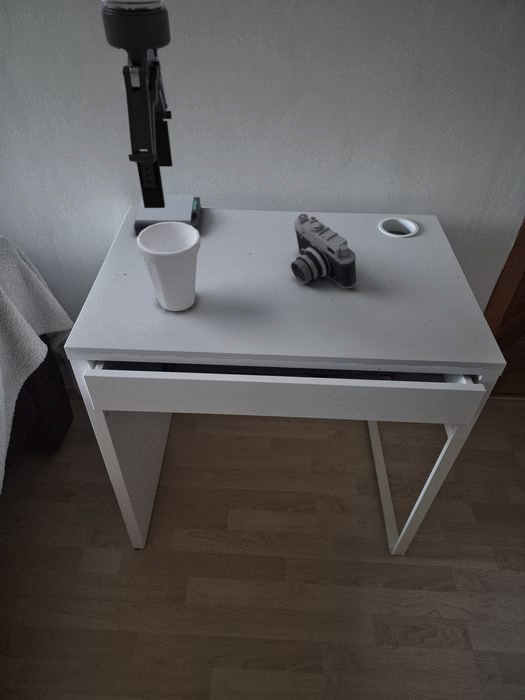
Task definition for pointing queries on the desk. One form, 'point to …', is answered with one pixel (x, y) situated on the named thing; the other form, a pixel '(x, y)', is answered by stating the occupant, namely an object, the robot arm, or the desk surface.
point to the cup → (171, 262)
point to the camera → (322, 254)
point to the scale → (169, 212)
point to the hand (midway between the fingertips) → (159, 184)
